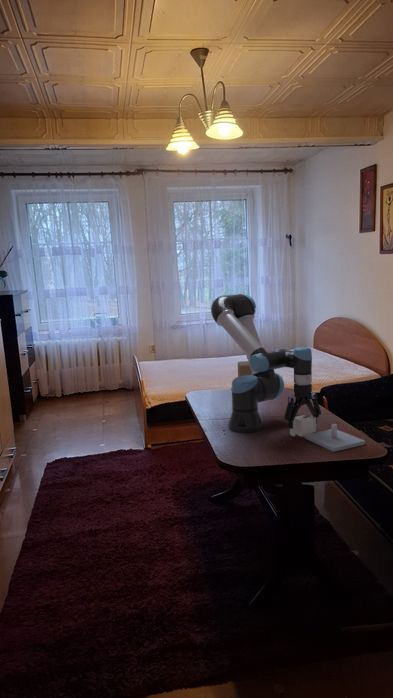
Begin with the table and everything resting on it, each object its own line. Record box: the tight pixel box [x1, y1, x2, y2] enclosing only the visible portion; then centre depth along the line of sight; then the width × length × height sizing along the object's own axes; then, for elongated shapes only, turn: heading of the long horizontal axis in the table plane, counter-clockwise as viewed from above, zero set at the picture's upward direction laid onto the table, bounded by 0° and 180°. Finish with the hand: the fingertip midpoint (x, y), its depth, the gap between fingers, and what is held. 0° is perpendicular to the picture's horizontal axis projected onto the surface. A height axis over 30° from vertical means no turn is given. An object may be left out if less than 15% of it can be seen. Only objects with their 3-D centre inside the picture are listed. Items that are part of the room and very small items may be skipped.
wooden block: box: [237, 360, 252, 377], centre depth 264 cm, size 10×10×20 cm
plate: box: [304, 423, 366, 453], centre depth 188 cm, size 16×18×7 cm
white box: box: [294, 414, 314, 438], centre depth 199 cm, size 6×6×8 cm
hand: (303, 433), depth 199 cm, fingers open, 10 cm apart
